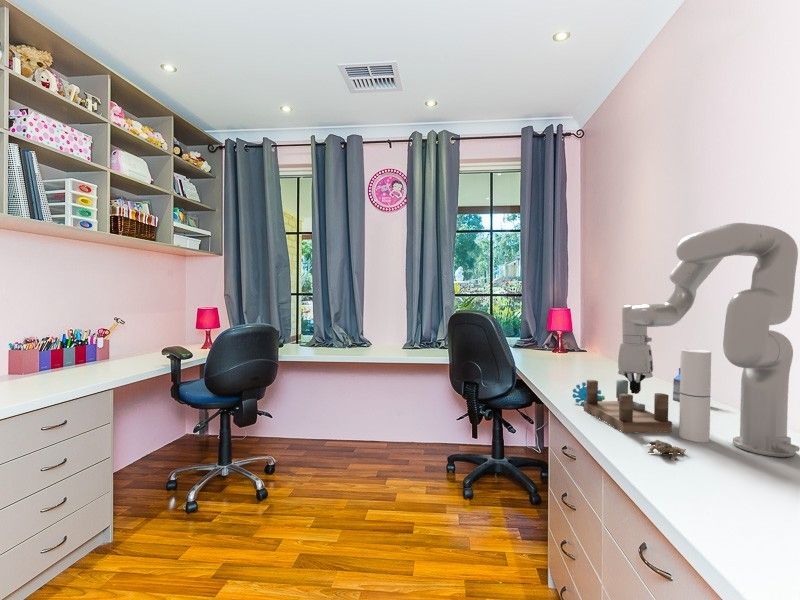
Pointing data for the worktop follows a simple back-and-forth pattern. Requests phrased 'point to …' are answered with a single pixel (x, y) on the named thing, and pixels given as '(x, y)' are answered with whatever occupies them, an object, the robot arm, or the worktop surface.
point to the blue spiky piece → (584, 394)
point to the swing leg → (623, 389)
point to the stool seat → (628, 412)
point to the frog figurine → (665, 448)
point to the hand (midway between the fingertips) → (635, 392)
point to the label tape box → (676, 387)
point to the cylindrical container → (695, 395)
